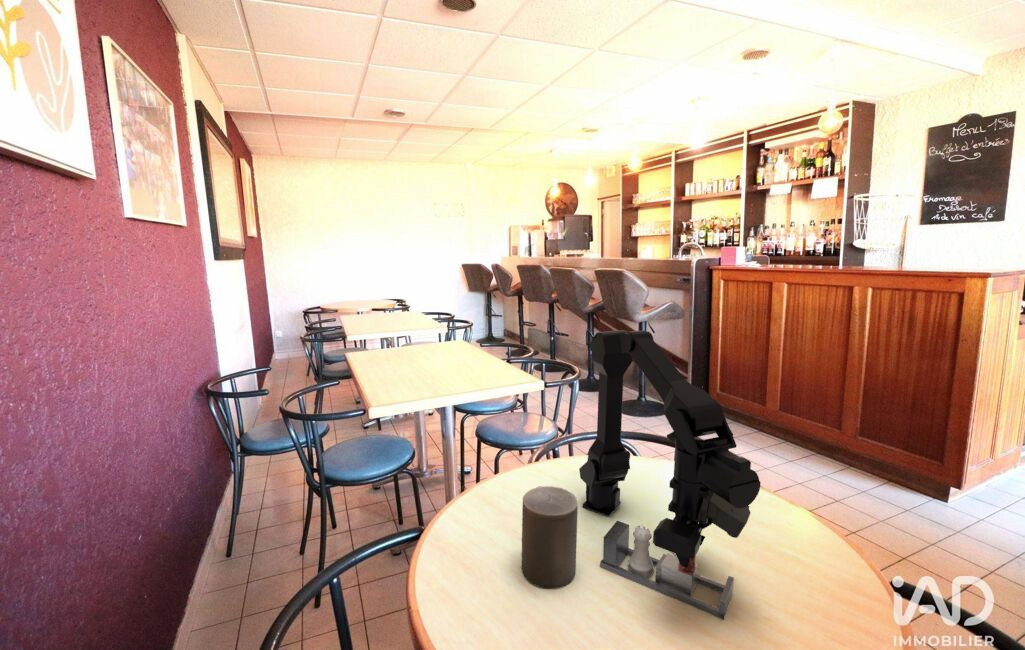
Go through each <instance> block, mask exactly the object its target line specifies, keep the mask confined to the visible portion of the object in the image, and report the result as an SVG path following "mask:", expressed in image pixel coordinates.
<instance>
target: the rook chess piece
mask: <svg viewBox="0 0 1025 650" xmlns="http://www.w3.org/2000/svg"><path fill="white" fill-rule="evenodd" d="M632 536H633V538H634V539H633V544H634V547H633V550H634V552H633V554H632V555H631V557H630V556H629V559H628V564H627V570H628V571H631V572H633V573H635V574H638V575H640V576H643V577H645V578H647V579H648V578H649V577H650V576H652V575H653V573H654V571H655V570H654V566H653V562H652V560H651V557H652V556H651V555H650V550H649V549H650V545H651V542H650V540H652V539H653V534H652V533H651V531H650V528H648V527H647V528H646V526H644V525H643V526H642V527H641V525H637V527H635V528H634V530H633V532H632Z"/></svg>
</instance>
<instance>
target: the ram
mask: <svg viewBox="0 0 1025 650" xmlns="http://www.w3.org/2000/svg"><path fill="white" fill-rule="evenodd" d="M659 560H660V561H659V562H658V564H657V566H656V567H655V579H654V580H655V582H657V583H659V584H662V585H664V586H667V587H669V588H671V589H674V590H676V591H679V592H681V593H683V594H686V595H688V596H691V597H692V596H693V594H694V591H695V589H696V586H697V583H696V580H697V575H698V565H699V564H698V563H697V562H696V561H697V555H696V556H695V558H691V559H690V562H689V566H688V568H686V567H683V566H681V565H680V562H679V560H678V558H677V556H676V555H673V554H671V553H669V552H668V553H667V554H666V553H663V554H662V556H661V557H660V559H659Z"/></svg>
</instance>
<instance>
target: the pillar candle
mask: <svg viewBox="0 0 1025 650" xmlns="http://www.w3.org/2000/svg"><path fill="white" fill-rule="evenodd" d="M578 503H579V502H578V497H577V496H576V495H575V493H573V492H570V491H569V490H567V489H564V488H562V487H557V486H552V485H550V486H549V485H548V486H544V485H543V486H537V487H534V488H532V489H530V490H528V491H527V492H526V493H524V495H523V497H522V514H521V515H522V519H521V520H522V522H521V528H522V529H521V571H522V575H523V576H524V578H525V580H526V581H528V582H529V583H530V584H531V585H534V586H536V587H538V588H540V589H545V590H546V589H547V590H552V589H559V588H563V587H565V586H567V585H569V584H571V582H573V581H574V579H575V576H576V572H577V571H576V570H577V543H578V542H577V541H578V540H577V539H578V537H577V536H578V535H577V534H578Z"/></svg>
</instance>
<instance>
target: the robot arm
mask: <svg viewBox="0 0 1025 650" xmlns="http://www.w3.org/2000/svg"><path fill="white" fill-rule="evenodd" d="M589 348H590V352H591V354H590V355H591V361H592V362H593V364H594V367H595V368H596V370H597V371H598V392H597V393H598V395H597V396H598V397H597V399H598V400H597V401H598V402H597V420H596V421H597V422H596V423H597V425H596V426H597V427H596V431H597V432H596V438H595V439H594V441H593V442H592V444H591V445H590V447H589V449H588V453H587V454H588V455H587V461H586V462H585V463H584V464H583V465H582V466H580V468H579V477H580V479H581V480H582V482H584V483H585V486H586V487H585V501H584V502H583V503H582V508H583V509H587V510H590V511H592V512H595V513H597V514H600V515H603V516H607V517H610V516H611V515H612V514H613V513H614V512H615V511H616V510H617V509H618V508H619V506H620V505H621V488H620V487H619V483H620V482H624V481H625V479H626V476H627V474H628V473H629V470H631V464H630V459H631V453H630V451H629V450H627V449H626V447H625V446H624V443H623V442H622V419H623V400H624V399H623V398H624V396H623V395H624V377H625V374H626V373H627V371H628V370H629V368H630V366H631V365H632V363H633V362H634V363H635V364H636V366H637V367H638V368H639V369H640V371H641V372H642V373H643V375H644V376H645V377H646V379H647V380H648V381H649V383H650V385H651V386H652V387H653V388H654V390H655V391H656V392H657V394H658V395H659V396H660V399H661V400H662V402H663V414H664V416H665V419H666V420H667V422H668V424H669V425H670V427H671V429H672V430H673V431H672V432H670V433H668V434H666V438H667V440H669V441H671V442H673V443H675V444H674V445H675V447H674V449H675V450H674V464H673V465H674V466H673V476H672V478H671V479H670V480H669V486H668V487H669V488H670V489H672V495H671V496H672V497H671V498H672V499H671V501H670V502H669V504H668V505H667V506H668V508H667V511H668V512H671V513H674V515H675V516H674V518H673V519H671V518H668V517H665V518H663V519H662V520H660V521H659V523H658V525H657V526H656V527H655V529H654V530H653V532H652V533H653V534H652V544H653V545H654V547H657V548H659V549H663V550H665V551H668V552H670V553H673V554H675V556H677V558H678V560H679V562H680V565H681V566H683V567H686V568H688V566H689V562H690V559H691V558H695V556H696V557H697V555H698V552H699V550H700V548H701V546H702V545H703V543H704V541H705V539H706V536H705V535H703V534H702V532H703V530H704V529H706V528H708V527H709V526H711V525H712V524H713V525H715V526H716V527H718V528H719V529H721V530H722V531H724V532H725V533H727V534H726V535H728V536H730V537H731V538H733V539H737V538H738V537H739V536H740V534H741V533H742V531H743V529H744V528H745V527H746V525H747V523H748V521H749V518H750V515H751V511H750V505H751V504H752V503H753V502H755V500H756V498H757V497H758V495H759V492H760V489H761V482H762V481H760V478H759V477H760V476H759V474H758V473H757V472H756V471H755V470H753V469H751V467H752V462H751V460H749V459H747V458H746V457H744V456H740V455H737V454H735V453H733V452H731V451H730V450H731V449H735V448H737V443H736V441H735V439H734V438H735V437H734V433H733V431H732V430H731V428H730V426H729V423H728V421H727V419H726V416H725V414H724V411H723V408H722V406H721V404H720V403H719V402H718V401H717V399H715V398H714V397H713V396H711V395H710V394H709V393H708V392H707V391H706V390H705V389H702V388H700V387H698V386H696V385H694V384H692V383H690V382H689V381H688V380H687V379H686V378H685V377H684V376H683V375H682V374H681V372H680V371H679V370H678V369H677V367H676V366H675V365H674V364H673V362H672V361H671V360H670V359H669V358H668V356H667V355H666V354H665V353H664V351H663V350H662V349H661V348H660V347H659V345H658V344H657V343H656V342H655V341H654V336H653V334H652V333H651V332H650V331H647V330H645V329H644V330H633V331H628V330H625V329H622V330H621V329H620V330H608V331H601V332H600V331H599V332H596V333H595V334H594V335H593V336H592V337H591V340H590V343H589ZM713 434H716V436H717V437H712V438H707V439H702V438H701V437H703V436H710V435H713Z"/></svg>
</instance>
